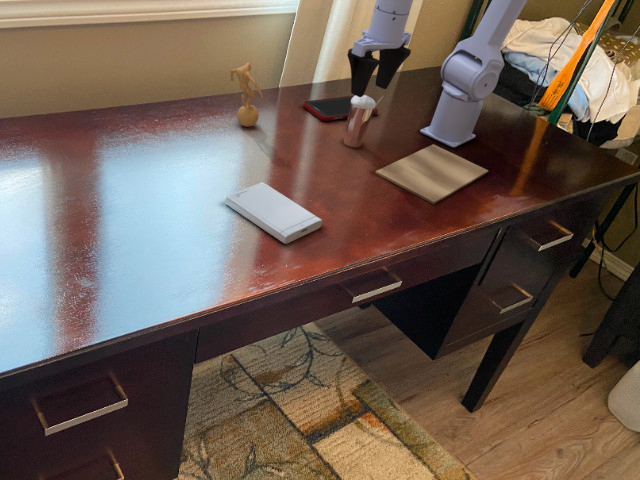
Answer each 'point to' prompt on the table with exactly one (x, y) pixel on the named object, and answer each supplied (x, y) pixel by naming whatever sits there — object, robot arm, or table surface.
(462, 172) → the desk mat
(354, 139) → the milkshake
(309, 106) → the cell phone
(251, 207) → the hard drive
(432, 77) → the table surface
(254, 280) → the table surface
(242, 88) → the figurine
